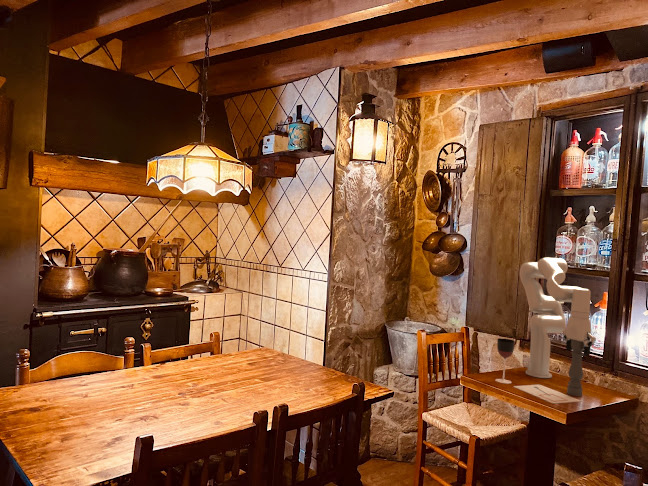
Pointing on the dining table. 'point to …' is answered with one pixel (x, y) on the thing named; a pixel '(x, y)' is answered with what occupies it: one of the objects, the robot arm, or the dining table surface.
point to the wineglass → (505, 353)
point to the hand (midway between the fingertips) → (577, 352)
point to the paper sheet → (547, 394)
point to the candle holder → (576, 369)
